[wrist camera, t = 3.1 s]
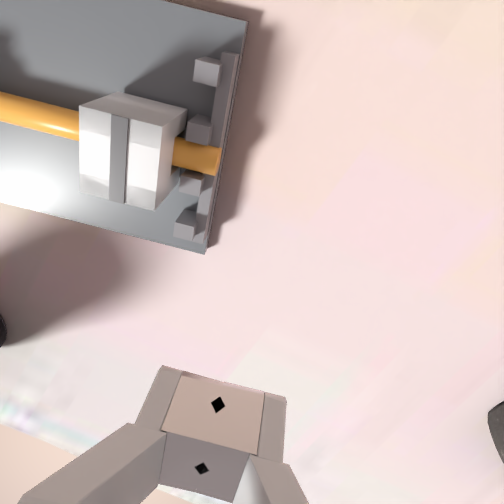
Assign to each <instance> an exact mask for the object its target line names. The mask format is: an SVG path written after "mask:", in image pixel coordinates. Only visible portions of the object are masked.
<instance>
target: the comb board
mask: <svg viewBox="0 0 504 504" xmlns="http://www.w3.org/2000/svg"><path fill="white" fill-rule="evenodd" d="M247 28H248V21H244V20H240V19H236V18H232V17H228V16H224V15H220V14H216V13H212V12H208V11H204V10H200V9H196V8H192V7H188V6H184V5H181V4H177V3H173V2H169V1H165V0H0V202H2V203H6V204H10V205H14V206H18V207H22V208H26V209H29V210H33V211H37V212H41V213H45V214H49V215H53V216H57V217H60V218H64V219H68V220H72V221H76V222H80V223H84V224H88V225H91V226H95V227H99V228H103V229H107V230H111V231H115V232H119V233H122V234H126V235H130V236H134V237H138V238H142V239H146V240H150V241H153V242H157V243H161V244H165V245H169V246H173V247H177V248H181V249H184V250H188V251H192V252H196V253H200V254H204V255H205V253H206V250H207V247H208V242H209V236H210V231H211V225H212V220H213V214H214V209H215V203H216V198H217V192H218V187H219V181H220V176H221V170H222V165H223V159H224V154H225V149H226V143H227V138H228V132H229V127H230V121H231V116H232V110H233V105H234V99H235V94H236V88H237V83H238V77H239V72H240V66H241V61H242V55H243V50H244V44H245V39H246V33H247ZM115 92H122V93H126V94H130V95H134V96H138V97H142V98H146V99H150V100H154V101H158V102H162V103H165V104H169V105H173V106H177V107H181V108H185V109H188V111H187V119H186V127H185V129H184V130H183V131H182V132H181V133H180V134H178V135H177V136H176V137H175V139H174V148H173V157H172V165H173V166H177V167H180V175H179V182H178V184H177V185H176V186H175V187H174V188H173V190H172V191H171V192H170V193H169V194H168V195H167V197H166V198H165V199H164V200H163V201H162V203H161V204H160V205H159V206H158V207H157V208H156V210H155V211H152V210H148V209H144V208H140V207H136V206H132V205H128V204H125V203H124V204H121V203H117V202H113V201H109V199H105V198H101V197H97V196H93V195H90V194H86V193H82V192H80V163H79V105H82V104H85V103H87V102H90V101H93V100H96V99H99V98H101V97H104V96H107V95H110V94H112V93H115Z"/></svg>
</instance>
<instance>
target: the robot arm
mask: <svg viewBox="0 0 504 504" xmlns="http://www.w3.org/2000/svg"><path fill="white" fill-rule="evenodd" d="M286 403H287V401H286V398H285V397H283V396H279V395H275V394H271V393H267V392H264V391H260V390H256V389H252V388H248V387H244V386H240V385H236V384H232V383H228V382H221V381H218V380H214V379H211V378H207V377H204V376H200V375H197V374H193V373H190V372H186V371H182V370H178V369H175V368H171V367H168V366H164V365H162V367H161V368H160V369H159V371H158V373H157V375H156V377H155V379H154V382H153V384H152V386H151V388H150V391H149V393H148V395H147V397H146V400H145V402H144V404H143V406H142V408H141V411H140V413H139V415H138V417H137V420H136V422H135V424H131V423H127V424H125V425H124V426H122V427H121V428H119V429H118V430H117V431H115V432H114V433H112V434H111V435H109V436H108V437H106V438H105V439H103V440H102V441H101V442H99V443H98V444H96V445H95V446H93V447H92V448H90V449H89V450H87V451H86V452H85V453H83V454H82V455H80V456H79V457H77V458H76V459H74V460H73V461H71V462H70V463H69V464H67V465H66V466H65V467H63V468H61V469H60V470H58V471H57V472H55V473H54V474H52V475H51V476H50V477H48V478H47V479H46V480H44V481H43V482H41V483H39V484H38V485H37V486H35V487H34V488H32V489H31V490H29V491H28V492H26V493H25V494H24V495H23V496H22V497H21V499H20V500H19V502H18V504H140V503H141V502H142V501H143V500H144V499H145V498H146V497H147V496H148V495H149V494H150V493H151V492H152V491H153V490H154V489H155V488H156V487H157V486H158V484H162V485H166V486H170V487H175V488H179V489H183V490H188V491H192V492H196V493H200V494H203V495H206V496H210V497H213V498H217V499H220V500H224V501H227V502H230V503H232V504H309V503H308V501H307V499H306V497H305V495H304V493H303V491H302V489H301V487H300V485H299V483H298V481H297V479H296V477H295V475H294V473H293V471H292V469H291V467H290V465H288V464H285V463H283V449H284V434H285V418H286Z"/></svg>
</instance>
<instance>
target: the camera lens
mask: <svg viewBox="0 0 504 504" xmlns="http://www.w3.org/2000/svg"><path fill="white" fill-rule="evenodd" d="M6 334H7V331H6V327H5V324H4V322H3V320H2V318H1V316H0V347H1V346H2V345H3V344H4V342H5V340H6Z"/></svg>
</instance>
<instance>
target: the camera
mask: <svg viewBox="0 0 504 504" xmlns="http://www.w3.org/2000/svg"><path fill="white" fill-rule="evenodd" d="M488 425H489V429H490V433H491V435H492V438H493V441H494V444H495V446H496V449H497V451H498V453H499V455H500V457H501V459H502V461H503V463H504V402H502V403H500V404H498V405H497V406H495V407H494V408H493V409H492V410H491V411H490V412H488Z"/></svg>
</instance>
